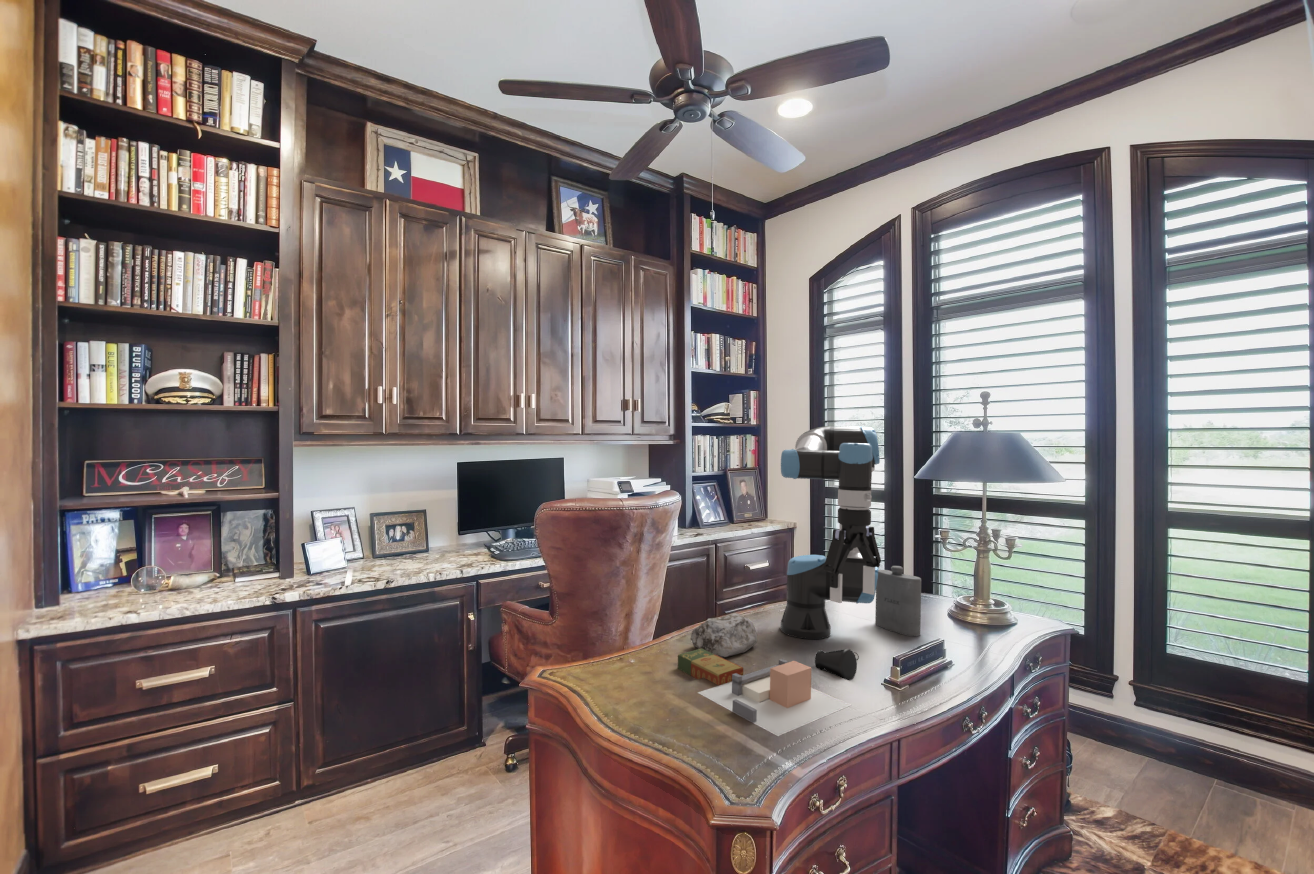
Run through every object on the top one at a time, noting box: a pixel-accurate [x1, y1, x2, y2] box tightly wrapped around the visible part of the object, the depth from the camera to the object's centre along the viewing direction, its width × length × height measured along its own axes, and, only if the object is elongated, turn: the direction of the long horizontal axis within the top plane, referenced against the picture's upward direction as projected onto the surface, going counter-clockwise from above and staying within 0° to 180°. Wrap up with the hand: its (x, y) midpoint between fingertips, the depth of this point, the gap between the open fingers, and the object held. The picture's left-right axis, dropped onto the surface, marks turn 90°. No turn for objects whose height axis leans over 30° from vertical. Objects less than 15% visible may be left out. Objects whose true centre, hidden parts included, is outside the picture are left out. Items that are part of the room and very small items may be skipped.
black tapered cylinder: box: [814, 648, 859, 681], centre depth 154 cm, size 8×18×8 cm
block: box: [770, 660, 812, 708], centre depth 132 cm, size 5×8×7 cm, turn 127°
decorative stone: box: [690, 612, 758, 659], centre depth 168 cm, size 20×14×10 cm
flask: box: [874, 565, 922, 637], centre depth 187 cm, size 15×6×20 cm, turn 34°
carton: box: [677, 648, 744, 686], centre depth 148 cm, size 8×16×4 cm, turn 35°
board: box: [697, 658, 852, 737], centre depth 132 cm, size 24×24×5 cm
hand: (852, 597), depth 140 cm, fingers open, 13 cm apart
